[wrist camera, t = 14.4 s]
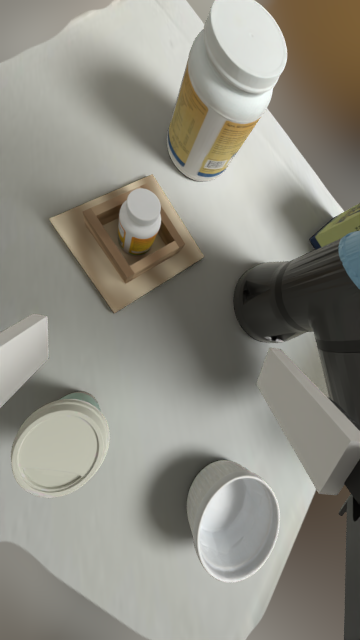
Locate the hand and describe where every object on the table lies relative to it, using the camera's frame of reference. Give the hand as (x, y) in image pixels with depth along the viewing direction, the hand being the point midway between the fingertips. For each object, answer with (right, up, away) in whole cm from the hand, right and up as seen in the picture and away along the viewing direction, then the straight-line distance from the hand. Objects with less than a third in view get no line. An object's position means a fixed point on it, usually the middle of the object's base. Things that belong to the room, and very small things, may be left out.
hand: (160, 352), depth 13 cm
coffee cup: (-13, -11, +18) cm, 25 cm away
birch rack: (-6, +15, +23) cm, 28 cm away
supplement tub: (+4, +33, +28) cm, 44 cm away
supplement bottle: (-6, +15, +22) cm, 27 cm away
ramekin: (+7, -27, +24) cm, 37 cm away
